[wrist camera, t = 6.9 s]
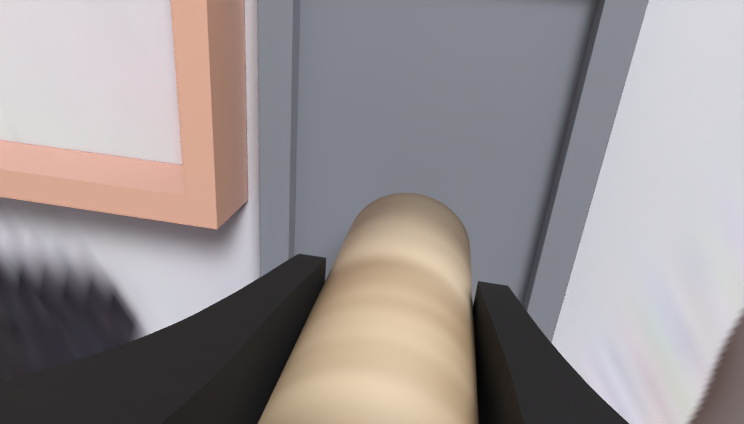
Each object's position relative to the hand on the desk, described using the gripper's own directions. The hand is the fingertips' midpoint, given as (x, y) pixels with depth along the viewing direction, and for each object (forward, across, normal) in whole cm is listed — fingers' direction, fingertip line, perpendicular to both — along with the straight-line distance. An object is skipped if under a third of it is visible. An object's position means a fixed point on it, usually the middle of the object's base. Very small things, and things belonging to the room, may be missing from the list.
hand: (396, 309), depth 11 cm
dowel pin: (+3, 0, 0) cm, 3 cm away
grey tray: (+7, 0, 0) cm, 7 cm away
